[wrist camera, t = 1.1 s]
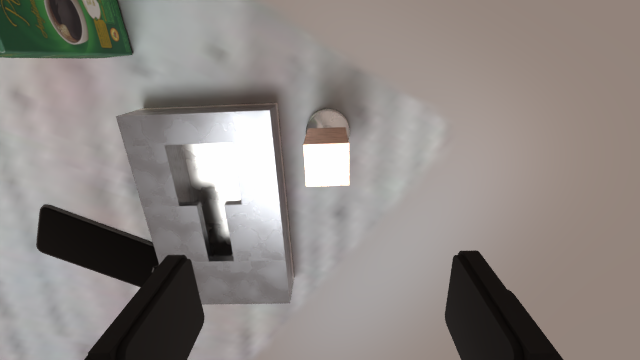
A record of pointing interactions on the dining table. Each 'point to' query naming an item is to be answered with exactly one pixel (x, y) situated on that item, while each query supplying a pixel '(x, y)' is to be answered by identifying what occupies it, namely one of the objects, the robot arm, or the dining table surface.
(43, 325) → the dining table surface
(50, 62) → the dining table surface
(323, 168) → the peg
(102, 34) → the coffee box
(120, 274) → the smartphone
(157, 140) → the keyhole plate
